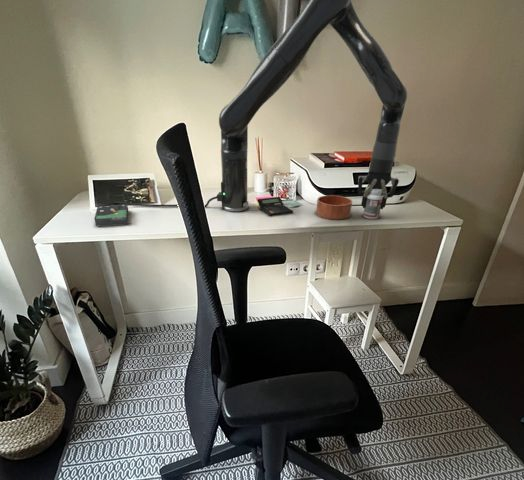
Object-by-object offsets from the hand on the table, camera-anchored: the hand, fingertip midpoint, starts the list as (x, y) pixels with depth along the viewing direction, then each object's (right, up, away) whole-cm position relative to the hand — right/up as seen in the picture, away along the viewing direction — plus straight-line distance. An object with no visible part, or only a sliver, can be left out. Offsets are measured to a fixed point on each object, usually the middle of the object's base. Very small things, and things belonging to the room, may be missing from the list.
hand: (372, 207), depth 133 cm
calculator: (-36, +1, +6) cm, 36 cm away
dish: (-14, -1, +3) cm, 14 cm away
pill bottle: (0, -3, +2) cm, 3 cm away
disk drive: (-92, -6, -6) cm, 93 cm away
